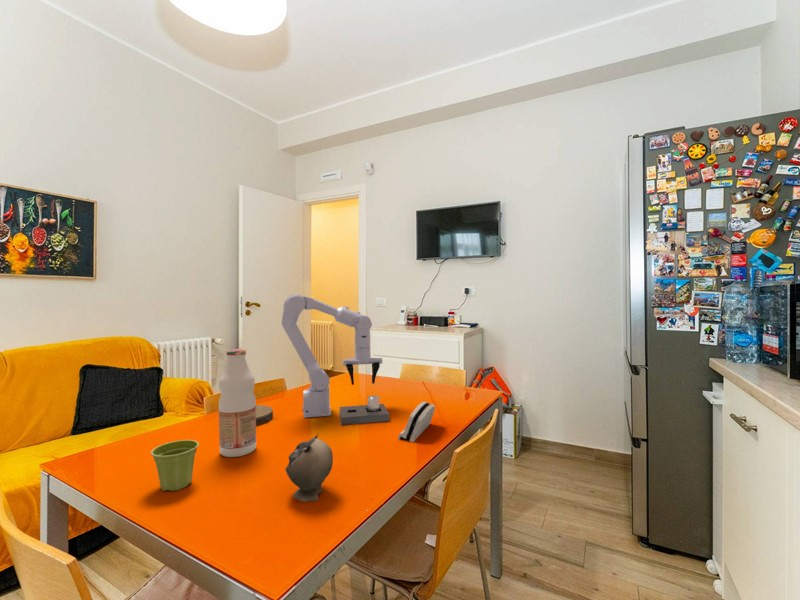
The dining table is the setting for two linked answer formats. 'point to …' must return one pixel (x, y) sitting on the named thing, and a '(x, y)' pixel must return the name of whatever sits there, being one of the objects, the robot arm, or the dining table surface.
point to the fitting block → (362, 414)
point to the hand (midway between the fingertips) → (363, 383)
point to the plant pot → (175, 463)
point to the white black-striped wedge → (418, 421)
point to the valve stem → (373, 403)
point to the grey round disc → (263, 414)
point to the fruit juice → (237, 407)
